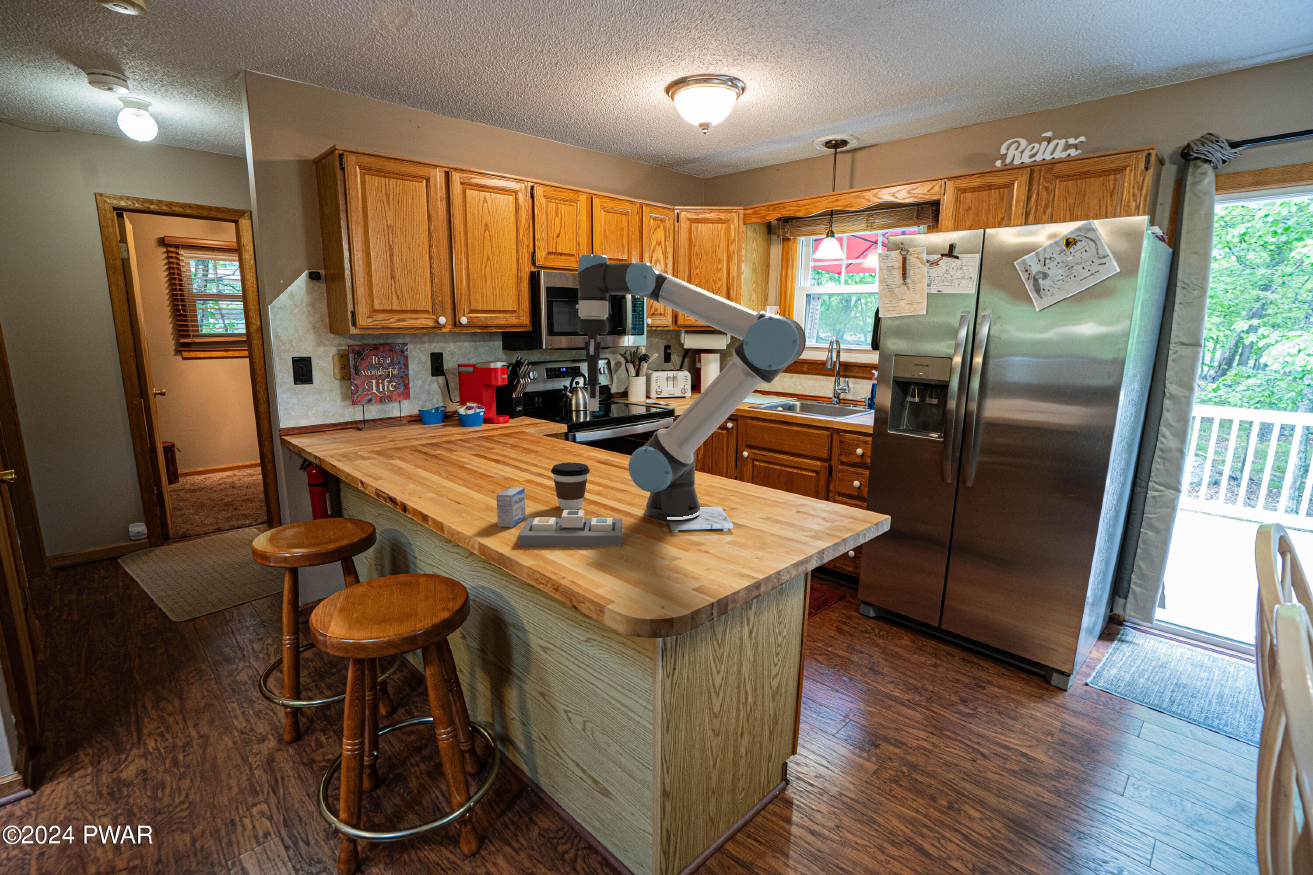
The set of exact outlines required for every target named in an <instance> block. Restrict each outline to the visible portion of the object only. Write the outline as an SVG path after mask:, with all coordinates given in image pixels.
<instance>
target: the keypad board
mask: <svg viewBox="0 0 1313 875" xmlns="http://www.w3.org/2000/svg"><path fill="white" fill-rule="evenodd" d="M535 518H536V517H528V518H527V519H526V521H525V523H524V524H523V527H522V529H521V531H520V533H519V535H518V546H519V547H622V546H623V518H621V517H620V518H619V517H617V518H616V517H615V518H613V517H611V518H612V531H591V521H592V518H593V517H584V524H583V528H577V527H562V517H555V518H556V530H555V531H532V524H533V522H534V520H535Z"/></svg>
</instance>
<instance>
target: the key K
mask: <svg viewBox="0 0 1313 875" xmlns="http://www.w3.org/2000/svg"><path fill="white" fill-rule="evenodd" d="M561 518H562V527H577V528H583V524H584V518H585V510H584V509H577V510H563V511H562V514H561Z"/></svg>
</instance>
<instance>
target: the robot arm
mask: <svg viewBox="0 0 1313 875" xmlns="http://www.w3.org/2000/svg"><path fill="white" fill-rule="evenodd" d="M577 264H578V267H577V279H578V280H577V283H578V284H577V285H578V286H577V290H578V298H577V299H578V304H576V305H575V308H576V309H578V315H577V316H578V317H580V319H578V322H577V323H578V324H577V325H578V329H577V330H578V332H577V333H578V334H579V335H580V334H581V335H587V341H586V340H585V341H584V348H585V358H586V359H587V360H586V361H587V362H586V366H587V368H586V369H587V373H586V374H587V381H586V382H585V383H584V386H585V387H586V386H587V411H589V412H590V411H591V412H592V411H593V412H598V411H599V399H600V398H599V392H600V391H599V390H600V389H599V386H601V385H602V382H601V381H600V379H599V378H600V377H599V372H600V371H599V366H600V364H599V363H600V362H599V361H600V360H599V359H600V358H601V349H602V341H599V335H607V334H608V333H609V321H608V319H606V318H608V317H609V295H631V296H638V297H642V298H646V299H649V300H651V301H653V302H656V303H659V304H661V305H663V306H665V307H666V308H669V309H671V310H674V311H676V312H678V313H682V314H683V315H685V316H687V317H690V318H692V319H694V320H696V321H699V322H701V323H704V324H705V325H707V326H710V327H713V328H715V329H717V330H719V331H721V332H723V333H725V334H727V335H730V336H733V337H735V338H736V339H739V340H741V341H740V342H739V343H738V344H737V345H736V346H735V348H733V350H732V352H733V353H732V354H733V358H732V360H731V361H730V362H729V363H728V364H727V365H726V366H725V368H724V369H722V371H721V372H720V373H719V374H717V375H716V377H715V379H713V380H712V382H711V383H710V384H709V385H708V386H707V387H706V388H705V389H704V390H703V391H702V392H701V393H700V394H699V395H698V396H697V397H696V398H695V399H694V401H693V402H692V403H691V404H690V405H689V406H688V407H687V408H686V409H685V410H684V411H683V412H682V413H681V415H680V416H679V417H678V418H677V419H676V420H675V421H674V422H673V423H672V424H671V425H670V426H669V427H668V428H660V429H658V430H656V431H655V432H654V433H653V435H652V436H651V437H650V438H649V440H648V441H647V442H646V443H645V444H644V445H643V446H640V447H638V448H637V449H635V451H634V452H633V453H632V454H631V456H630V457H629V461H628V464H627V466H628V467H627V468H628V473H629V476H630V477H629V478H630V479H631V481H632V482H633V483H634V485H636V486H637V487H638V488H639V489H641V490H642V491H644V492H647V493H649V496H648V498H647V502H646V503H645V504H646V506H645V513H646V515H647V516H649V517H651V518H653V519H657V520H662V521H668V520H667V517H683V516H689V515H693V514H695V513H697V512H698V511H699V510H700V511H701V504H700V501H699V498H698V493H697V491H696V488H695V487H696V486H695V485H696V484H695V481H696V480H695V479H696V459H697V458H696V456H697V455H696V452H697V451H696V450H697V449H698V448H699V447H700V446H701V445H702V444H704V442H705V441H706V440H707V439H708V438H709V437H710V436H711V435H712V434H713V433H714V432H715V431H716V430H717V429H718V428H719V427H720V426H721V425H722V424H723V423H724V422H725V420H727V419H728V418H729V417H730V415H732V414H733V412H735V411H736V410H737V409H738V407H739V406H740V405H741V404H742V403H743V402H744V401H745V400H746V399H748V397H749V396H750V395H751V394H753V392H754V391H755V390H756V389H757V388H758V387H759V386H761V385H770V384H771V383H772V382H773V381H774V380H775V379H776V378H777V377H778V376H779V375H780V374H781V373H782V372H783V371H784V370H785V369H786V368H787V367H788V366H789V365H791V364H793V363H795V362H796V361H797V360H799V359H800V357H801V356H802V355H803V353H804V351H805V350H806V349H805V348H806V344H807V338H806V337H807V336H806V333H805V330H804V329H803V327H802V326H801V324H800V323H799V322H798V321H796V320H795V319H792V318H791V317H790V318H789V317H787V316H786V317H785V316H783V315H782V316H781V315H779V314H778V315H777V314H772V313H769V312H766V311H764V310H762V311H759V312H756V311H754V310H752V309H749V308H747V307H744V306H741V305H740V304H737V303H735V302H732V301H730V300H727V299H726V298H724V297H721V296H718V295H715V294H713V293H711V292H708V291H707V290H704V289H703V288H700V287H698V286H695V285H693V284H690V283H687V282H685V281H682V280H680V279H679V278H675V277H673V276H671V275H669V274H667V273H664V272H662V271H661V270H658V269H656V268H654V267H653V265H652V264H651V263H649V262H639V261H634V262H622V263H621V262H619V263H618V262H617V263H610V262H609V258H608V256H607V255H604V254H589V253H588V254H582V255H580V256H579V258H578V263H577ZM599 381H600V382H599Z"/></svg>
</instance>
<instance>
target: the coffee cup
mask: <svg viewBox="0 0 1313 875" xmlns="http://www.w3.org/2000/svg"><path fill="white" fill-rule="evenodd" d="M590 471H591V470H590V467H589V466H588V465H587V464H585V463H582V462H560V463H557V464H554V465H553V466H552V467H551V469H550V472H551V474H552V475H553V481H554V490H555V495H556V498H557V503H558V506H559V508H560V509H561V510H563V511H564V510H581V508H582V507H583V505H584V498H585V495H586V494H585V493H586V490H587V482H588V474H590Z"/></svg>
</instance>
